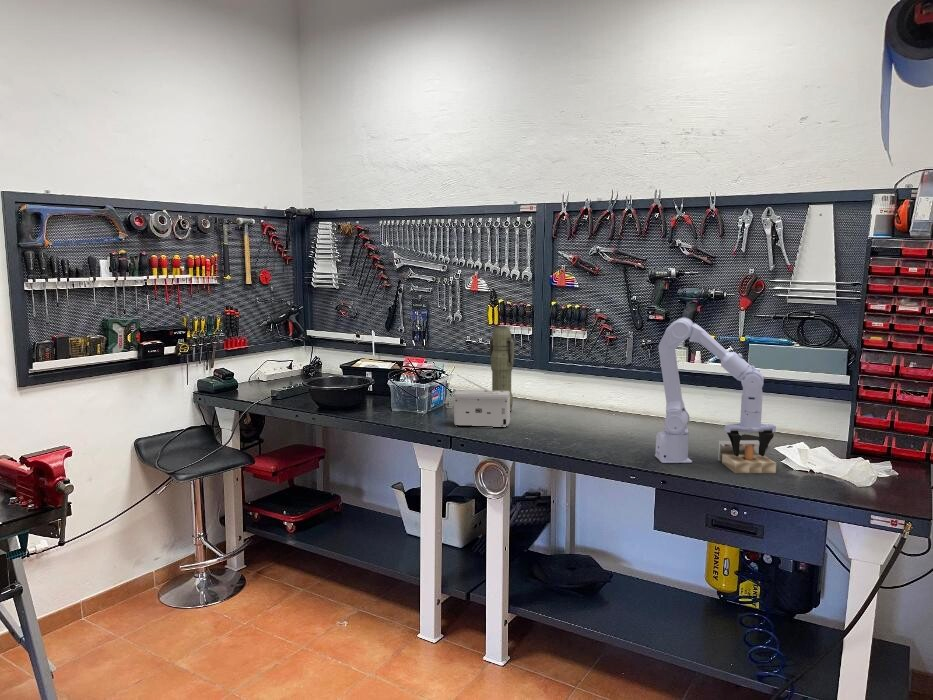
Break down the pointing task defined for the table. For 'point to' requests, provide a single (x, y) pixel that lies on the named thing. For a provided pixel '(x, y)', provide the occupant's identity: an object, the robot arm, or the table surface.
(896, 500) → the table surface
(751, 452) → the peg
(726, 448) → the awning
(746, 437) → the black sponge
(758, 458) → the socket block
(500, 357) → the olive green jumpsuit
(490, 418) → the stereo radio cassette player
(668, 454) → the robot arm
